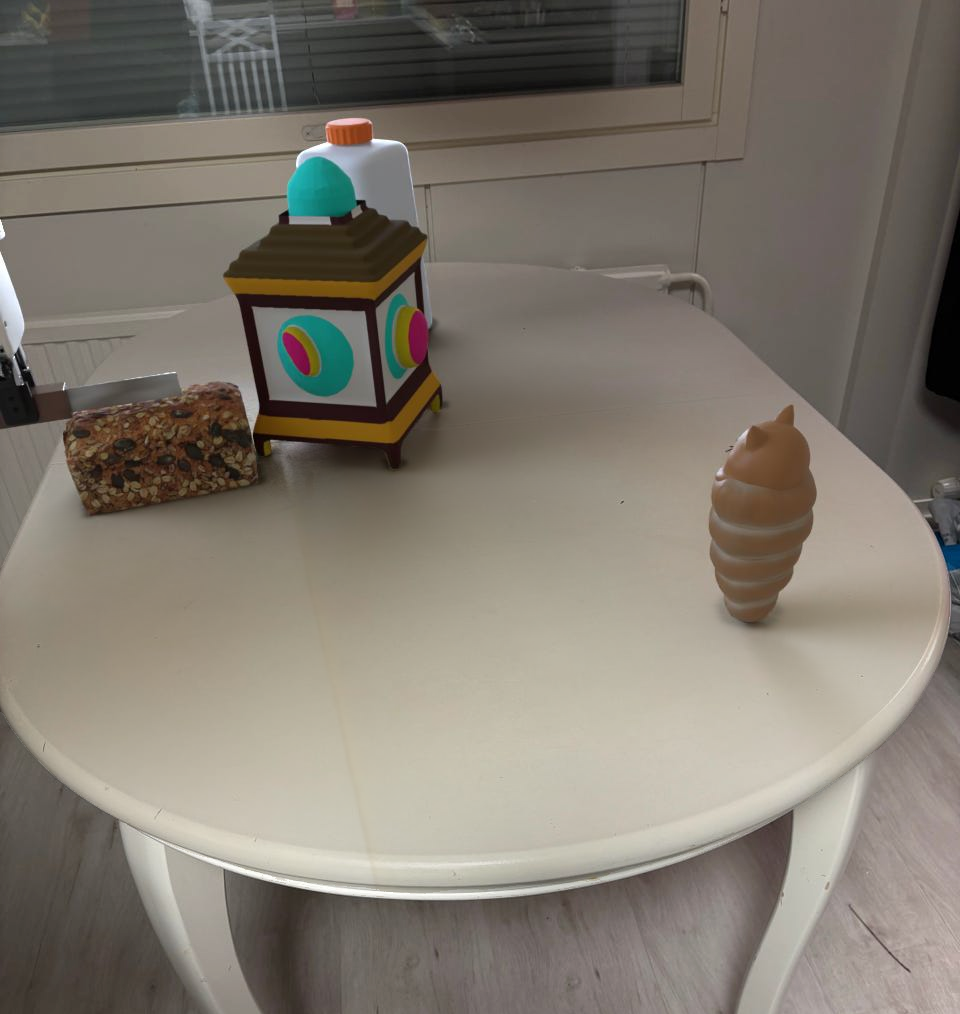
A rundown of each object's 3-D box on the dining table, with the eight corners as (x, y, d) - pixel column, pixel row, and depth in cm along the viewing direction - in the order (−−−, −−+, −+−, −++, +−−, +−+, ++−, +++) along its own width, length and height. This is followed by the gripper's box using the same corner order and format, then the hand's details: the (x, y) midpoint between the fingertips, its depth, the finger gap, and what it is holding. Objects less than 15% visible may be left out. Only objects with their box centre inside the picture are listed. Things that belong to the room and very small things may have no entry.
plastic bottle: (301, 345, 139) (265, 130, 122) (360, 313, 149) (335, 110, 132) (388, 360, 132) (363, 134, 116) (443, 325, 143) (428, 113, 126)
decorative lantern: (458, 405, 119) (440, 136, 101) (407, 480, 104) (375, 179, 86) (309, 396, 124) (267, 137, 105) (240, 466, 108) (176, 177, 90)
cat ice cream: (738, 578, 85) (763, 385, 75) (816, 613, 81) (855, 412, 70) (675, 620, 81) (693, 421, 70) (754, 660, 76) (786, 452, 65)
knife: (-21, 432, 96) (-33, 404, 94) (-17, 423, 98) (-29, 395, 96) (182, 401, 99) (175, 373, 97) (182, 392, 101) (175, 365, 99)
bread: (253, 451, 111) (235, 368, 105) (264, 492, 103) (246, 404, 97) (86, 481, 107) (58, 396, 101) (84, 525, 99) (53, 436, 93)
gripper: (-72, 209, 92) (-3, 392, 103) (-110, 253, 79) (-27, 456, 90) (10, 200, 93) (70, 382, 104) (-15, 242, 80) (56, 443, 91)
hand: (25, 415), depth 97 cm, fingers closed on knife, 2 cm apart
